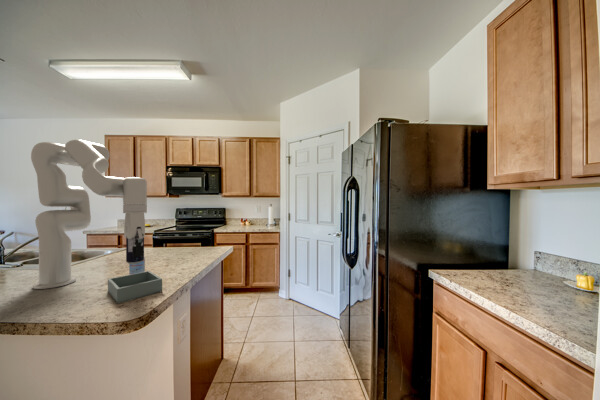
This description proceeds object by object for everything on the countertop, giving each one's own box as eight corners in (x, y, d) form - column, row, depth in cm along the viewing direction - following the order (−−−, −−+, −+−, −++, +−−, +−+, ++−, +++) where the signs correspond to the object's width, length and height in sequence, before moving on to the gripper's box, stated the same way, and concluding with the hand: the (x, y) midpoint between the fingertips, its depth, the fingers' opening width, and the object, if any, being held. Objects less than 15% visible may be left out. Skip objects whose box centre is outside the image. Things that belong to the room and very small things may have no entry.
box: (107, 291, 90) (107, 278, 90) (149, 282, 100) (149, 270, 100) (117, 303, 79) (117, 289, 79) (162, 291, 90) (162, 278, 90)
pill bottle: (127, 279, 105) (128, 254, 105) (130, 275, 110) (130, 251, 110) (143, 277, 107) (144, 252, 108) (145, 273, 113) (145, 250, 113)
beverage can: (147, 260, 92) (147, 231, 92) (136, 264, 87) (136, 233, 87) (134, 260, 93) (134, 231, 93) (122, 264, 87) (122, 232, 87)
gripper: (118, 209, 93) (118, 253, 93) (129, 209, 81) (129, 260, 81) (140, 208, 98) (140, 250, 98) (153, 209, 87) (153, 256, 87)
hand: (135, 254), depth 90 cm, fingers closed on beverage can, 5 cm apart
